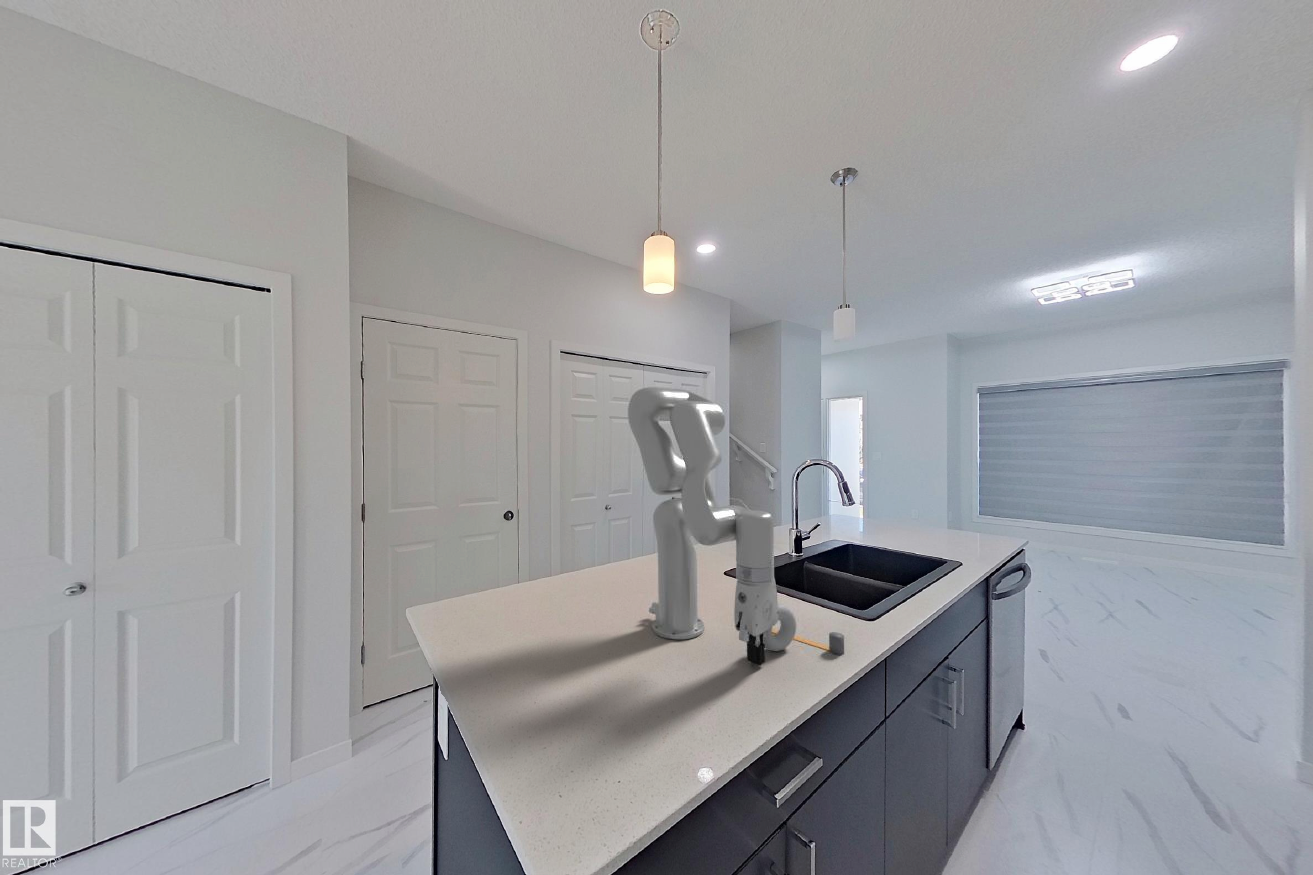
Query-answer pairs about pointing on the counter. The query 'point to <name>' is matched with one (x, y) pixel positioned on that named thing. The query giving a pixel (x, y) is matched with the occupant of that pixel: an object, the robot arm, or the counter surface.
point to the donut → (781, 630)
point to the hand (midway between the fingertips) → (755, 661)
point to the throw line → (834, 642)
